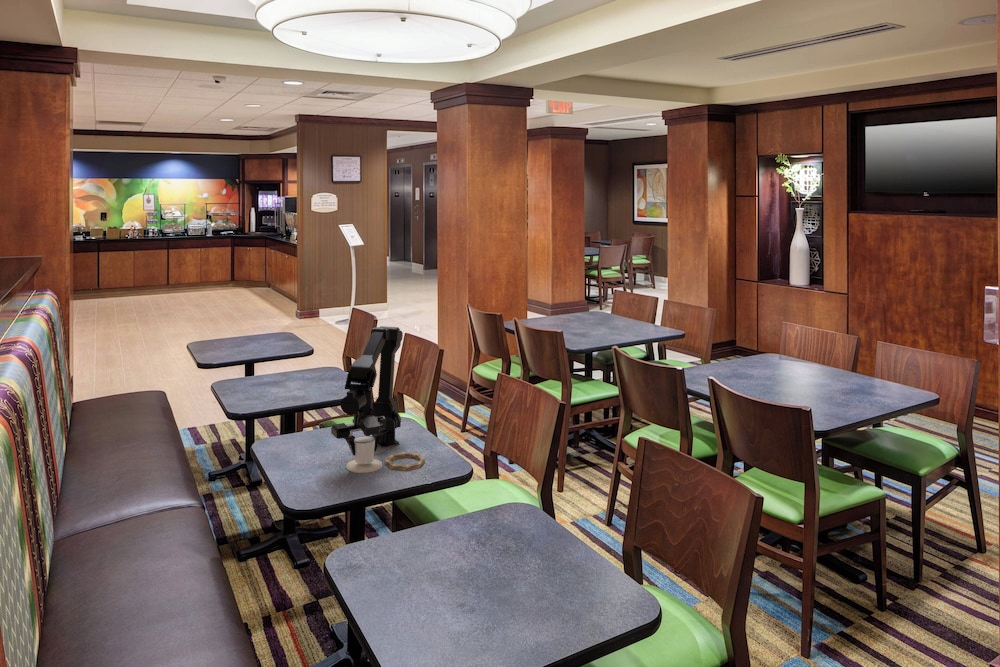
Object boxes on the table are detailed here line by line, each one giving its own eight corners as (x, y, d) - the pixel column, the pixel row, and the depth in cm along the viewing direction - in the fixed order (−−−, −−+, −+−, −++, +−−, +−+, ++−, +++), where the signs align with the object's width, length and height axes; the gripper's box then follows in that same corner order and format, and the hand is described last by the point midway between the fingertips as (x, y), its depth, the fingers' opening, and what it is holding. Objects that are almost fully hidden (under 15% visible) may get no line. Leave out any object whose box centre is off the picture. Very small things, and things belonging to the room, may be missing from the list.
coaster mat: (340, 463, 224) (340, 462, 224) (374, 456, 229) (374, 455, 229) (353, 475, 215) (353, 474, 214) (388, 468, 220) (387, 467, 220)
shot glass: (356, 455, 225) (356, 434, 224) (378, 456, 225) (377, 435, 223) (350, 464, 219) (349, 442, 217) (372, 465, 218) (371, 443, 217)
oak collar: (381, 460, 227) (381, 456, 226) (413, 453, 233) (413, 450, 232) (396, 472, 217) (395, 469, 217) (429, 465, 223) (429, 461, 223)
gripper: (342, 417, 206) (344, 468, 210) (402, 407, 216) (402, 456, 219) (329, 406, 216) (331, 455, 219) (387, 397, 225) (388, 444, 229)
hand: (364, 453), depth 221 cm, fingers closed on shot glass, 6 cm apart
